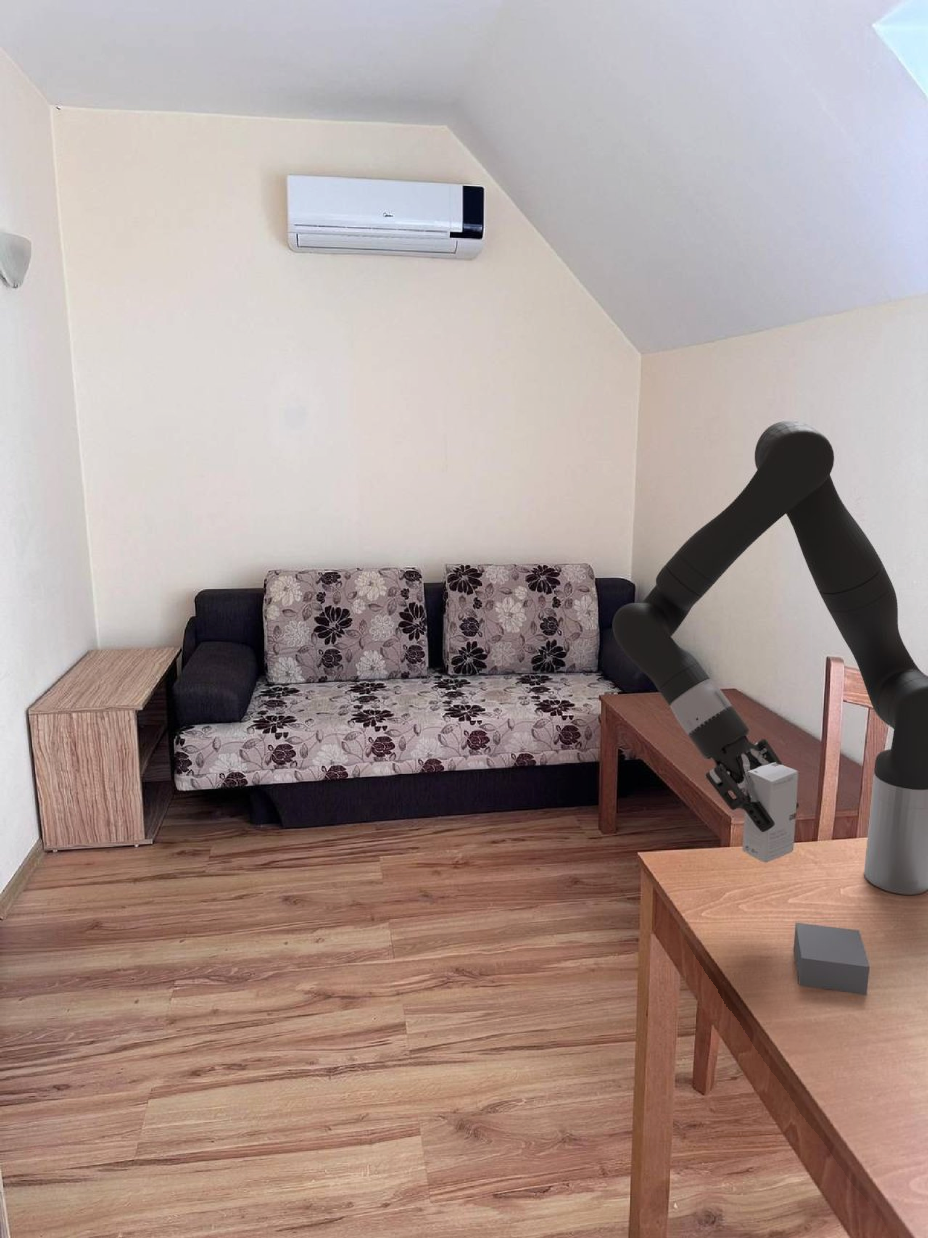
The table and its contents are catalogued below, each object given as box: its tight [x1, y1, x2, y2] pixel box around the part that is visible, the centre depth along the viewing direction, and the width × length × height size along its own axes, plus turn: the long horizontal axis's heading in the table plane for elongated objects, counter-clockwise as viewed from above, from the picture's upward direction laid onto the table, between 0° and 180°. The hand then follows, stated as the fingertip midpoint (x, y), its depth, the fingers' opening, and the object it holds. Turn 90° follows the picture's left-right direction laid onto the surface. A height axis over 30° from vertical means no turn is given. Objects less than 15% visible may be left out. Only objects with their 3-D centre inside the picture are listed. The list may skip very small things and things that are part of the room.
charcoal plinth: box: [793, 922, 871, 995], centre depth 116 cm, size 8×8×4 cm
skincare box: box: [742, 762, 799, 864], centre depth 122 cm, size 6×4×12 cm
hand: (781, 819), depth 121 cm, fingers closed on skincare box, 6 cm apart
